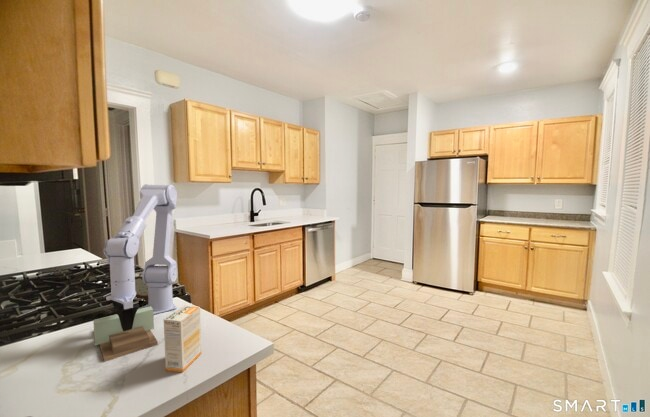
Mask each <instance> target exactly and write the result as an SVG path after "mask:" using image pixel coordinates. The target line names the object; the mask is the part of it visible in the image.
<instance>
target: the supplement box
mask: <svg viewBox="0 0 650 417" xmlns="http://www.w3.org/2000/svg"><path fill="white" fill-rule="evenodd" d="M201 325H202V324H201V307H200V306H197V305H196V306H193V305H183V306H181V307H180V308H179V309H177V310H175V311H174V312H173V313H171V314H169V315H168V316H166V317H165V318H163V330H164V331H163V333H164V358H165V370H166V371H169V372H175V373H176V372H178V373H184V372H185V371H186V370H187V369H188V368H189V367H190V366H191V364H192V363H194V362H195V360H196V359H197V358H198V357H199V356H200V355H201V354H202V332H201V330H202V329H201V328H202V327H201Z"/></svg>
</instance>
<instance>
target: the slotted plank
mask: <svg viewBox="0 0 650 417" xmlns="http://www.w3.org/2000/svg"><path fill="white" fill-rule="evenodd" d="M155 346H158V340H157V338H156V337H155V335H154V332H152V329H151V330H147V331H145V329H144V327H143V326H141V327H138V328H134V329H130V330H127V331H123V332H119V333H116V334H112V335H109V342H105V343H102V344H99V347H100V348H99V349H100V351H101V354H102V358H103V362H108V361H112V360H114V359H117V358H120V357H123V356H126V355H130V354H132V353H133V354H134V353H136V352H139V351H142V350H145V349H149V348H151V347H155Z"/></svg>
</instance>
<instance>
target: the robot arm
mask: <svg viewBox="0 0 650 417" xmlns="http://www.w3.org/2000/svg"><path fill="white" fill-rule="evenodd" d="M139 198H140V200H139V202H138V204H137V206H136V208H135V209H134V210H135V211H134V212H133V215H131V216H129V217H126V218H125V220H124V221H123V223H122V225H121V226H120V228H119V229H118V231H117V232H116V234H115V235H114V237H111V238H109V239H107V241H106V242H105V244H104V247H103V249H102V250H103V255H104V256H105V257H106V260H107V261H106V263H107V264H108V265H109V273H110V274H109V275H110V295H107V296H106V297H105V298H106V301H110V302H111V304H112V306H113V310H114V312H115V315H116V314H117V315H118V316H119V319H120V323H121V327H122V330H123V331H127V330H130V329H132V327H133V322H134V317H135V314H136V312H137V310H138V309H140V304H139V303H134V301H133V299H134V298H135V296H136V291H135V273H136V272H135V256H136V255H137V254H138V252H139V246H140V238H141V237H142V235H143V233H144V231H145V229H146V227H147V224H146V220H147V218H148V217H149V216H150V214H151V212H152V211H153V210H154V211H155V213H156V216H155V225H154V237H153V238H154V239H153V249H152V250H153V251H152V257H150V258H149V259H147V261H145V263H144V267H143V270H142V272H143V273H142V279H143V281H144V283H147V286H149V287H148V302H147V304H146V305H144V306H145V307H144V308H146V307H150V306H151V307H152V308H153V315H157V314H160V313H161V314H162V313H164V312H169V311H172V310H176V309H177V306H176V305H175V304H174V303H173V300H174V299H173V284H174V283H175V281H176V280H177V277H178V267H177V266H178V263H177V261H176V260H175V259H173V258H172V257H171V256H170V248H171V247H170V246H171V233H172V222H173V221H172V220H173V210H175V209H176V208H177V204H178V202H177V201H178V192H177V189H176V188H175V185H173V184H143V185H142V186H141V188H140V190H139Z"/></svg>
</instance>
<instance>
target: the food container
mask: <svg viewBox="0 0 650 417" xmlns="http://www.w3.org/2000/svg"><path fill="white" fill-rule="evenodd" d="M142 273H143V271H139V272H135V291H136V296H135V297H137V298H144V299H145V300H146V301H148V287H149V286H147V283H144V281H143V279H142Z"/></svg>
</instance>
